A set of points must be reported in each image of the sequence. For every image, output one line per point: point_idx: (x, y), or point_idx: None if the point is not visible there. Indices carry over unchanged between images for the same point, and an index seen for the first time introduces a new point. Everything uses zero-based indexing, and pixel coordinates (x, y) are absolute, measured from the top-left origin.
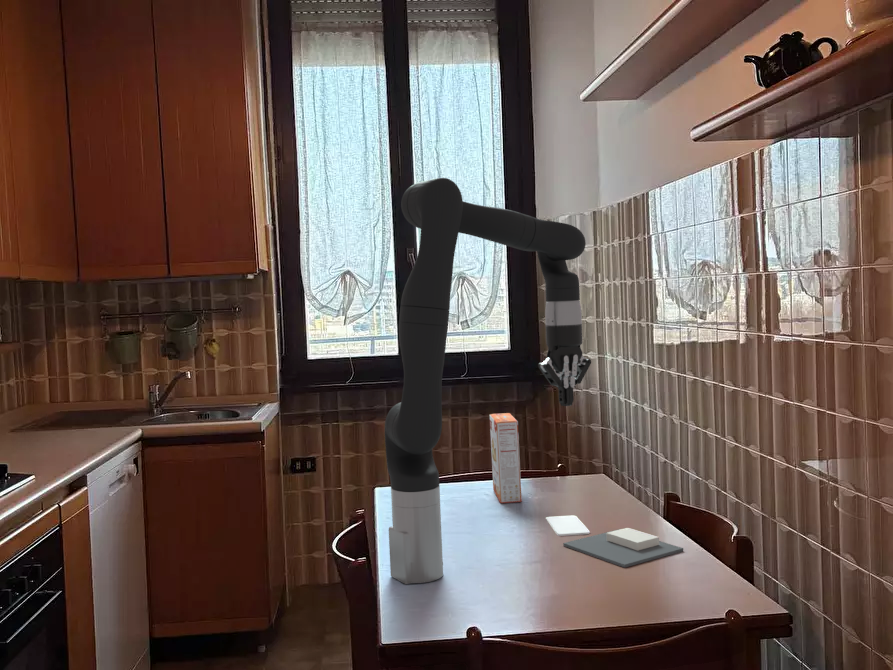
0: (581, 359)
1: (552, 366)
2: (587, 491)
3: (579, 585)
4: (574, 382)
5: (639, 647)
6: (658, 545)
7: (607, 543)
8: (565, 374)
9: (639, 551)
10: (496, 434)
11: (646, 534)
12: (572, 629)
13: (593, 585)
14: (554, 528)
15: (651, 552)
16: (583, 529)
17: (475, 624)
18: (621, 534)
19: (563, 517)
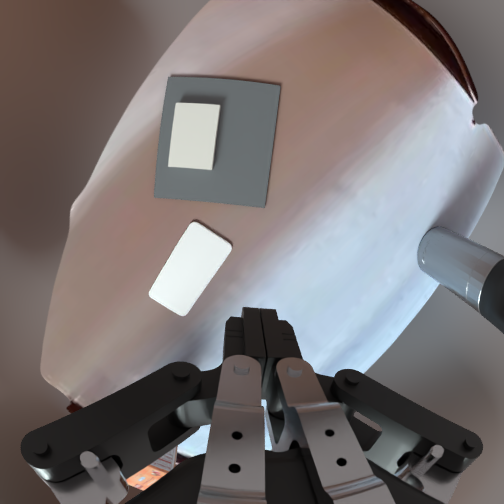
0: (95, 501)
1: (440, 453)
2: (74, 350)
3: (363, 94)
4: (224, 374)
5: (413, 3)
6: None
7: (221, 160)
8: (336, 413)
9: (220, 104)
10: (175, 460)
11: (177, 122)
12: (431, 52)
13: (352, 82)
14: (215, 270)
15: (212, 91)
16: (189, 237)
17: (470, 124)
18: (202, 148)
19: (167, 299)
